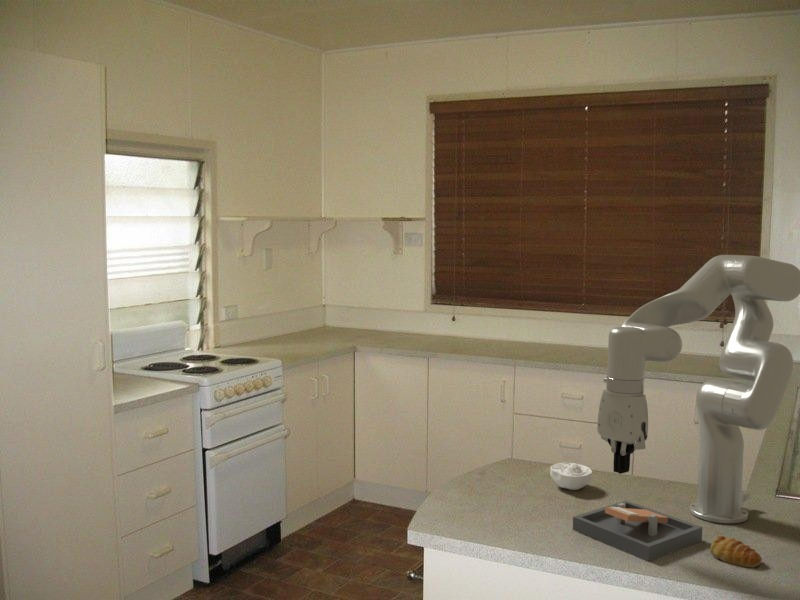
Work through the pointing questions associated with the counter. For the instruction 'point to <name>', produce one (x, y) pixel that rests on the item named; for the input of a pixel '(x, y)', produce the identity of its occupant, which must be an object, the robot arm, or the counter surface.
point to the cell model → (570, 475)
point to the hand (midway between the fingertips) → (621, 471)
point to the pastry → (734, 552)
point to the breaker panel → (638, 532)
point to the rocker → (634, 514)
